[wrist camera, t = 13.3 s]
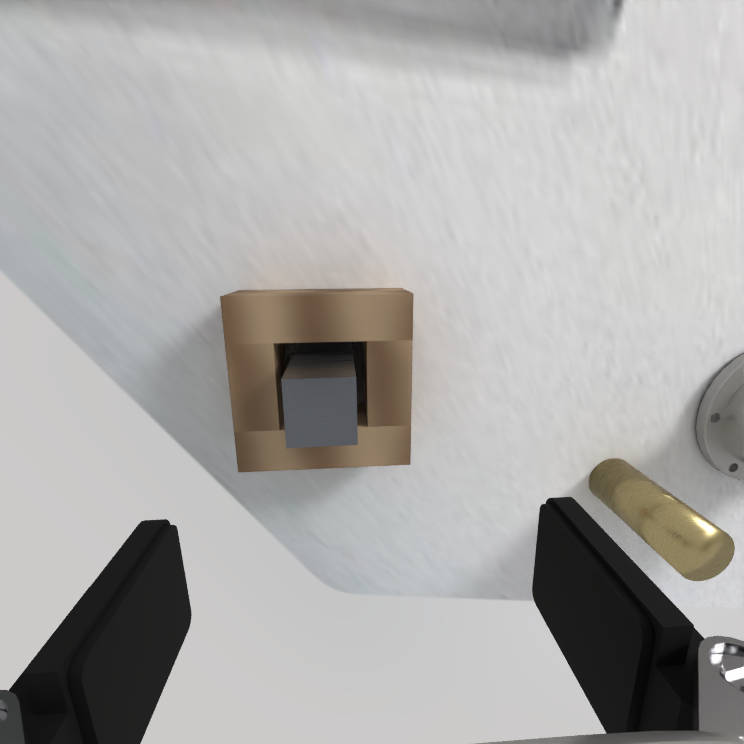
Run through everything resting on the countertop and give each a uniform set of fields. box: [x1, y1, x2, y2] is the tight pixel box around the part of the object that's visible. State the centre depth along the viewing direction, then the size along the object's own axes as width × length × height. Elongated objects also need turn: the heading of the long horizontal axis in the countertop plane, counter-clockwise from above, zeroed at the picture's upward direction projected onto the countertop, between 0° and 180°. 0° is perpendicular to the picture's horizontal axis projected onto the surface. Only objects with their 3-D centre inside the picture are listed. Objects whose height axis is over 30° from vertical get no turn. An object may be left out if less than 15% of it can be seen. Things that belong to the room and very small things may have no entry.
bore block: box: [220, 288, 413, 472], centre depth 30 cm, size 12×12×5 cm
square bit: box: [281, 342, 358, 448], centre depth 28 cm, size 4×4×10 cm
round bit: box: [589, 458, 735, 581], centre depth 32 cm, size 4×4×10 cm
